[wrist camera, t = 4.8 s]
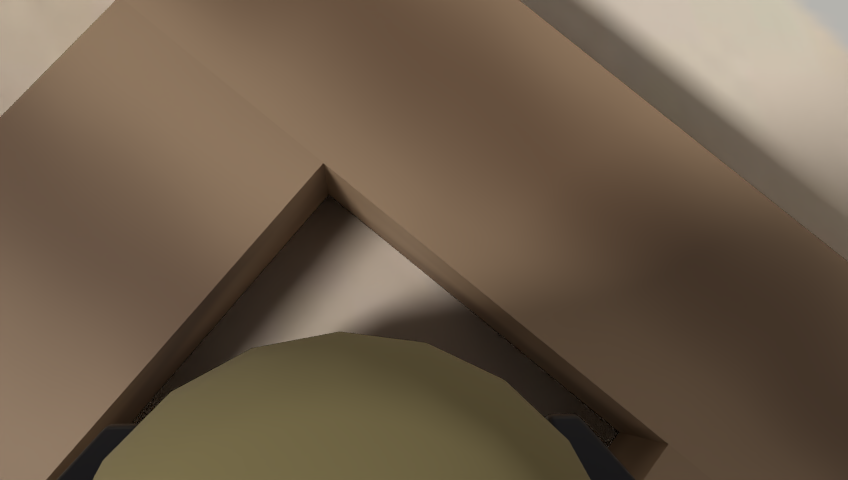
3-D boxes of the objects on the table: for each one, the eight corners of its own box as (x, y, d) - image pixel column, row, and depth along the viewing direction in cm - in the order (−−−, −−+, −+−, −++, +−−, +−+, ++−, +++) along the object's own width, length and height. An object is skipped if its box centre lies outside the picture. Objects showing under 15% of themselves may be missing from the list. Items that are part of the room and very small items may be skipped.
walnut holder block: (416, 1177, 16) (429, 1360, 13) (-313, 542, 17) (-457, 579, 14) (922, 395, 20) (1023, 401, 17) (302, -101, 20) (293, -180, 17)
